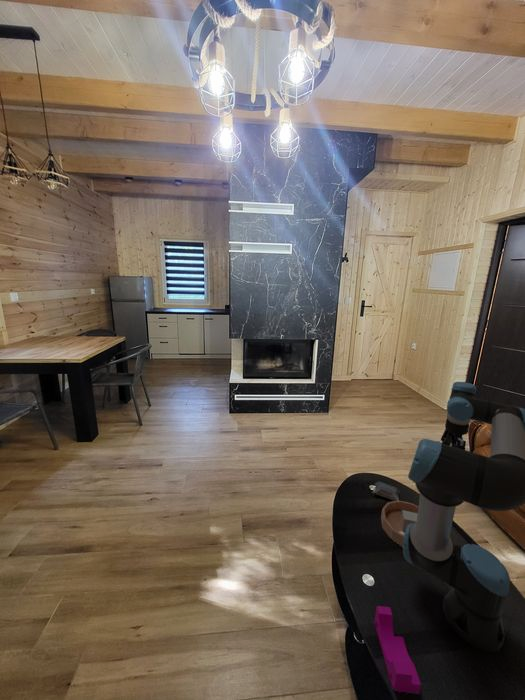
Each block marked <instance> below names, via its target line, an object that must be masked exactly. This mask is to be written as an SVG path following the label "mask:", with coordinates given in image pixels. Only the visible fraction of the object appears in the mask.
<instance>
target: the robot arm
mask: <svg viewBox="0 0 525 700" xmlns="http://www.w3.org/2000/svg"><path fill="white" fill-rule="evenodd" d="M476 395H477V386H476V385H475V384H472V383H470V382H466V381H456V382H453V383H452V388H451V393H450V396H449V400H448V401H447V404H446V411H447V414H446V420H445V426H444V428H445V429H444V432H443V433H442V436H441V438H440V440H437V441H436V440H432V439H429V438H423V439H420V441H419V442H418V445H417V448H416V451H415V454H414V457H413V460H412V463H411V466H410V469H409V472H408V475H407V477H408V479H409V480H410V481H412V482H413V483H414V484H415V487H416V489H417V491H418V492H419V499H418V505H417V506H418V515H417V522H416V523H415V524H413V523H410V524H408V526H407V528H406V531H405V535H404V542H403V543H404V544H403V547H402V554H403V557H404V559H405V561H406V562H407V563H409V564H411V565H412V566H413V567H415V568H418V569H420V570H421V571H423V572H425V573H427V574H429V575H430V576H432V577H434V578H436V580H437V579H438V580H439V581H441V582H443V583H445V584H447V585H448V586H450V587H452V588H451V589H449V591H448V592H447V593H446V594H444V597H443V602H442V611H443V614H444V616H445V618H446V621H447V623H448V624H449V625H450V627H451V628H452V629H453V630H454V632H455V633H456V634H457V635H458V636H459V637H460V638H461V639H462V640H463V641H465V642H466V643H467V644H468V645H470V646H472V647H474V648H476V649H478V650H481V651H484V652H490V653H492V652H493V653H494V652H497V651H499V650H500V649H501V648H502V647H503V644H504V641H505V629H504V625H503V620H502V616H503V611H504V607H505V604H506V600H507V596H508V595H509V593H510V584H511V577H510V575H509V572H508V570H507V568H506V566H505V565H504V564H503V563H502V562H501V560H500V558H498V557H497V556H495V554H493V553H492V552H491V551H490V550H488V549H486V548H484V547H482V546H480V545H478V544H474V543H471V544H470V543H467V544H466V543H465V544H464V545H463V546H460V545H458V544H457V543H455V542H453V541H452V539H451V531H452V526H453V521H454V516H455V513H456V509H457V507H458V506H460V505H462V504H463V503H464V502H465V503H468V504H470V505H473V506H476V507H477V508H479V509H480V508H481V509H483V510H487V511H492V512H493V511H494V512H507V511H511V510H516V509H518V508H521V507H523V506H524V505H525V408H523V407H520V406H516V405H515V406H514V405H510V404H504V403H498V402H494V401H489V400H484V399H480V398H476ZM471 421H476V422H479V423H484V424H488V425H491V428H490V429H491V431H490V432H491V434H490V456H485V455H482V454H478V453H475V452H472V451H469V450H466V444H467V442H466V440H464V438H463V436H464V435H467V434H469V429H470V423H471Z"/></svg>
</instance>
